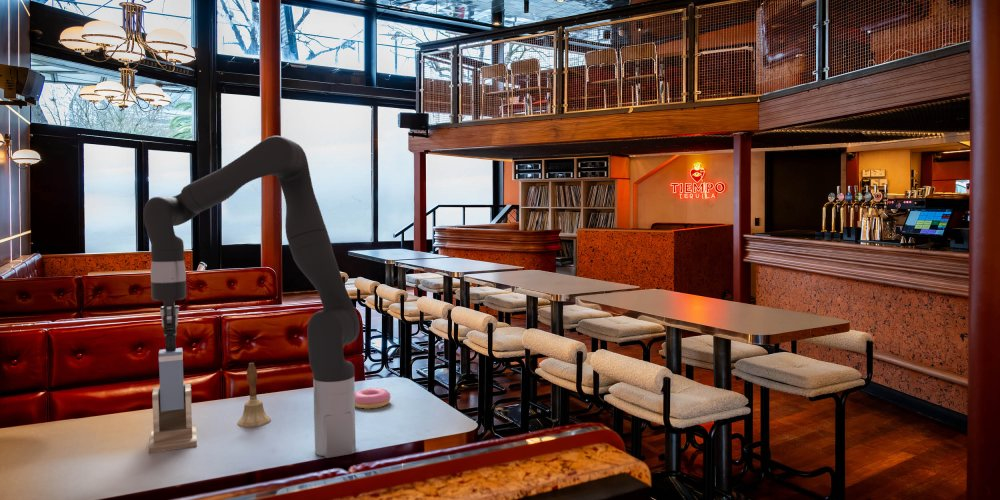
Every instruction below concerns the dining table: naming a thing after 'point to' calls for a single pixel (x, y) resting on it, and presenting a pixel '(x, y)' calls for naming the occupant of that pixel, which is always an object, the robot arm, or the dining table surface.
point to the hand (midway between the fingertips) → (170, 350)
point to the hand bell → (253, 404)
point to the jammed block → (171, 379)
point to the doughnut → (371, 398)
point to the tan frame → (172, 425)
